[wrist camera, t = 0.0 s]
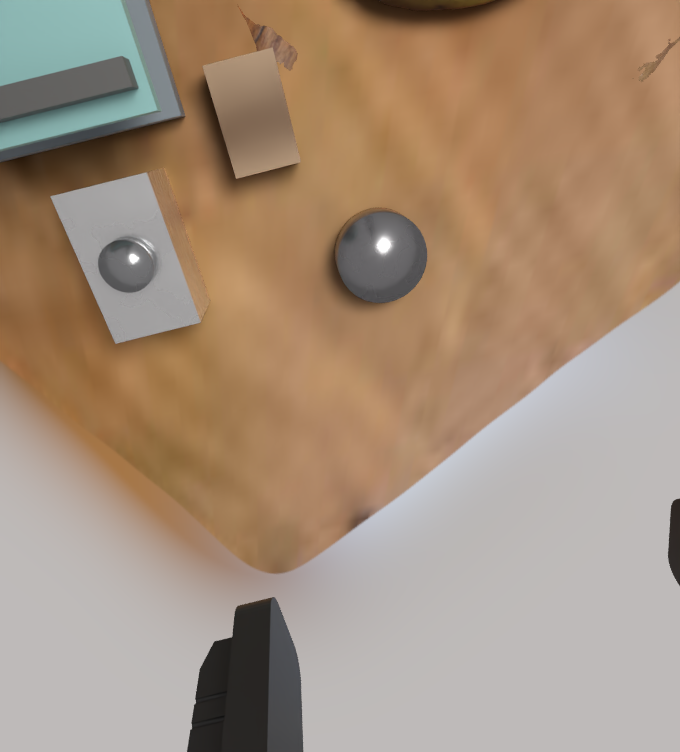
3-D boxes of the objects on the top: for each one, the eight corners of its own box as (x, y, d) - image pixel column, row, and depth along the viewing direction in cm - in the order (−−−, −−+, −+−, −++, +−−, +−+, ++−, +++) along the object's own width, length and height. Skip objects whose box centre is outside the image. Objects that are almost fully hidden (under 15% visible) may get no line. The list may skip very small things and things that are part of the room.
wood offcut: (209, 72, 32) (202, 65, 29) (273, 55, 32) (272, 47, 29) (240, 175, 34) (236, 178, 31) (299, 160, 34) (300, 162, 31)
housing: (81, 188, 34) (42, 198, 28) (165, 167, 34) (142, 173, 28) (135, 318, 37) (110, 349, 32) (210, 299, 37) (198, 327, 32)
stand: (-119, -80, 27) (-294, -175, 19) (106, -136, 27) (28, -256, 19) (-4, 163, 32) (-103, 172, 24) (185, 116, 32) (151, 109, 24)
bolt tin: (325, 219, 36) (328, 224, 34) (410, 197, 36) (419, 202, 34) (344, 301, 38) (348, 312, 36) (424, 281, 38) (433, 291, 36)
